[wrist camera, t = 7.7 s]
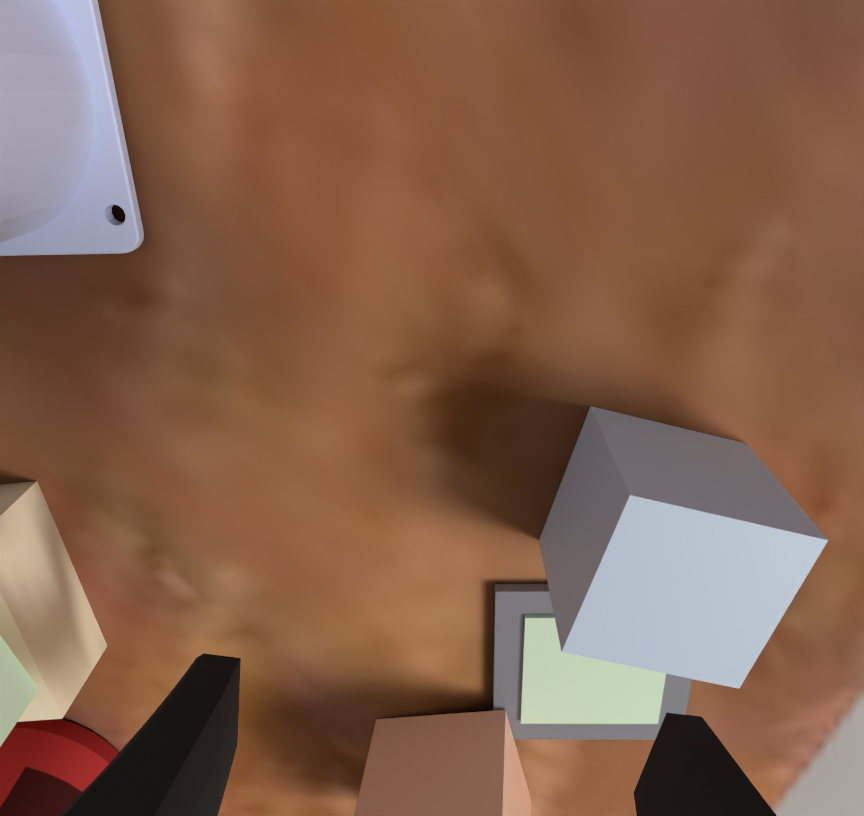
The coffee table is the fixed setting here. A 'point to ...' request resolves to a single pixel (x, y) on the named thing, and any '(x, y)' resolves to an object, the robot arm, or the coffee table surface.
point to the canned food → (48, 766)
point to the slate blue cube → (672, 550)
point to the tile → (570, 679)
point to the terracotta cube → (444, 767)
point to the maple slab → (43, 603)
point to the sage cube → (13, 690)
